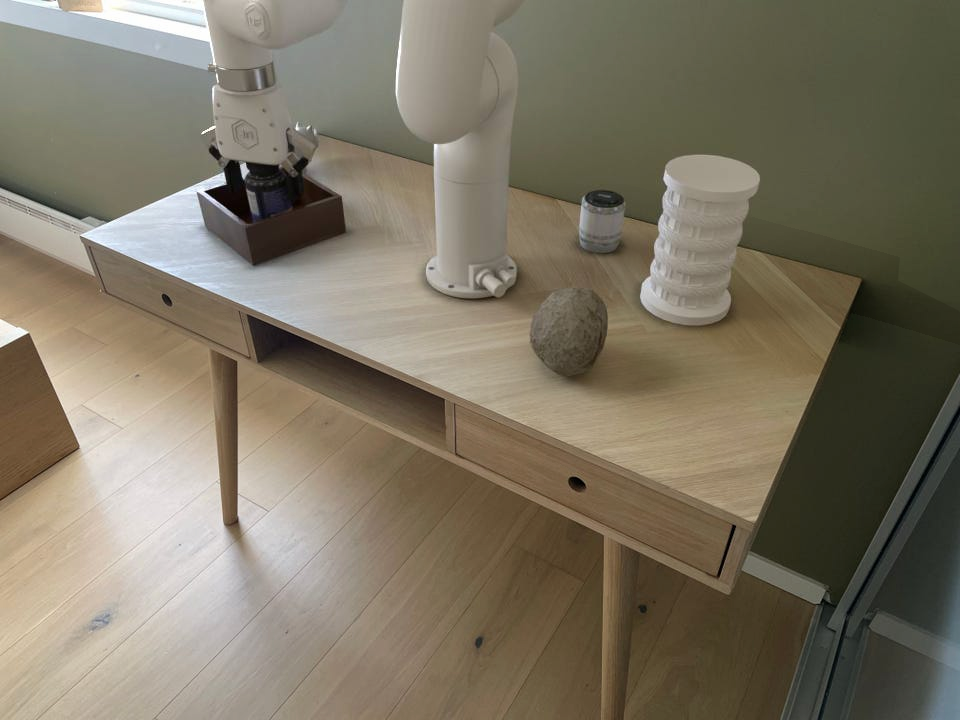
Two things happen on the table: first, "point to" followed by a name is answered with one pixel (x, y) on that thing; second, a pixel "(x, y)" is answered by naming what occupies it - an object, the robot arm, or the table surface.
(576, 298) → the decorative stone
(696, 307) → the decorative container
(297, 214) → the box
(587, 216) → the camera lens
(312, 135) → the toy rhinoceros
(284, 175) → the pill bottle
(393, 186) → the table surface
